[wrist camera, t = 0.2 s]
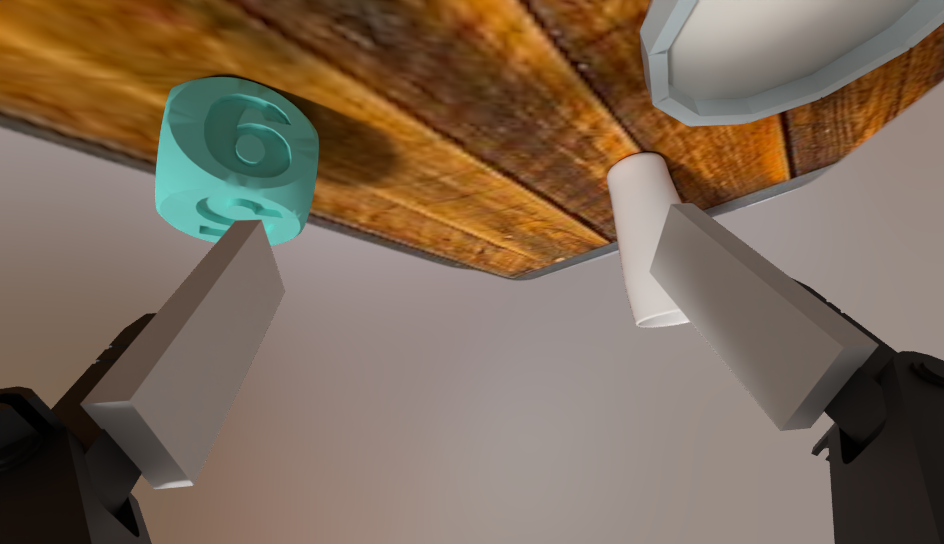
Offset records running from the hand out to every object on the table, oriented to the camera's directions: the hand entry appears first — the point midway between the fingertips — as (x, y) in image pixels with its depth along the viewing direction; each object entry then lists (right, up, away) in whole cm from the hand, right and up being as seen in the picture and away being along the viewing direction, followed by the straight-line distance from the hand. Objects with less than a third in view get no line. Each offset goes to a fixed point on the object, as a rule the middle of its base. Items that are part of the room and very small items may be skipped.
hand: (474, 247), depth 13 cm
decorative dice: (-16, +10, +15) cm, 24 cm away
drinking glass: (+15, +10, +25) cm, 31 cm away
